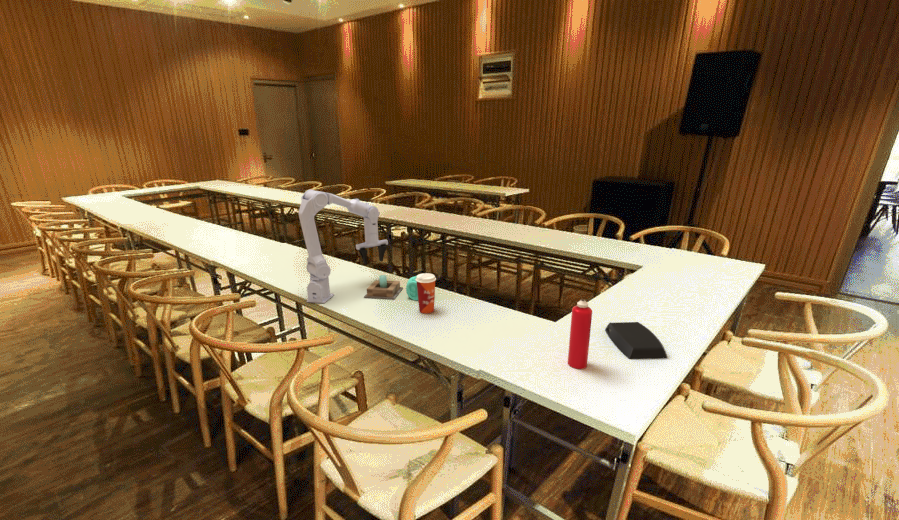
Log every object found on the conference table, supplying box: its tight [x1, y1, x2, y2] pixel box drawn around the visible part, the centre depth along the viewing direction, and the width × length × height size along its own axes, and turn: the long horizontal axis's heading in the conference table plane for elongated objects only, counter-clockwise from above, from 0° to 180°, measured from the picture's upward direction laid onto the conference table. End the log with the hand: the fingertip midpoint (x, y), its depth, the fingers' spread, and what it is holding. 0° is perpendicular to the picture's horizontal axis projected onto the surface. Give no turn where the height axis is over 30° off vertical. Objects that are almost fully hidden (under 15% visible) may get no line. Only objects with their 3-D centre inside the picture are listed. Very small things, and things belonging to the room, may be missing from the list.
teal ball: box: [405, 275, 418, 302], centre depth 172 cm, size 8×8×8 cm
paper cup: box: [416, 272, 437, 314], centre depth 158 cm, size 8×8×14 cm
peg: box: [378, 274, 388, 288], centre depth 176 cm, size 3×3×7 cm
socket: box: [363, 279, 404, 301], centre depth 177 cm, size 13×13×4 cm
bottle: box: [567, 299, 593, 370], centre depth 119 cm, size 5×5×20 cm
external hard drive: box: [604, 321, 668, 360], centre depth 133 cm, size 13×19×4 cm
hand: (373, 262), depth 186 cm, fingers open, 7 cm apart
